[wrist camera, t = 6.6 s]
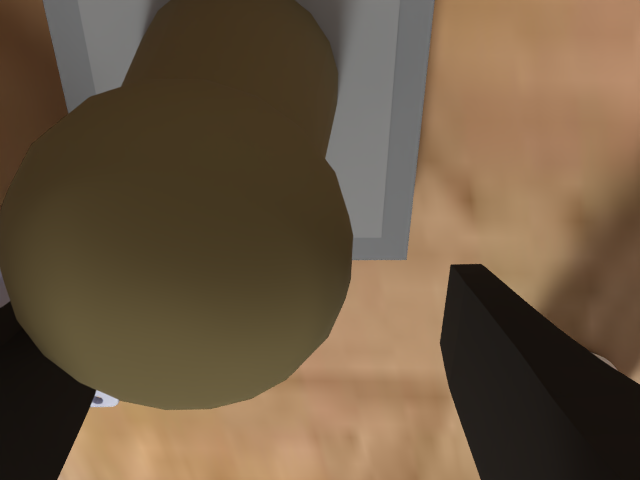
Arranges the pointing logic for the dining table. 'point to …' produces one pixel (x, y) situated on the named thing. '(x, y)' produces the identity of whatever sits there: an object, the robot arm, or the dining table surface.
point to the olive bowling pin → (188, 213)
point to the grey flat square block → (352, 99)
